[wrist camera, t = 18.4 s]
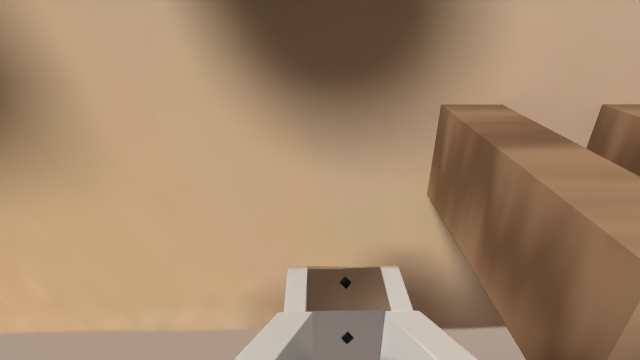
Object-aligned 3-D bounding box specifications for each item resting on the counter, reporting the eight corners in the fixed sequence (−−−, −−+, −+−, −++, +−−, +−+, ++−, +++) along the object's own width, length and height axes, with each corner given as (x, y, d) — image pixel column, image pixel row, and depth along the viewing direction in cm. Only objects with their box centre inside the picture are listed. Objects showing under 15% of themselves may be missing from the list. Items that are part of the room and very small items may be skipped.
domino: (441, 104, 17) (656, 271, 6) (502, 104, 17) (818, 269, 6) (426, 194, 19) (568, 429, 9) (480, 193, 19) (688, 427, 9)
